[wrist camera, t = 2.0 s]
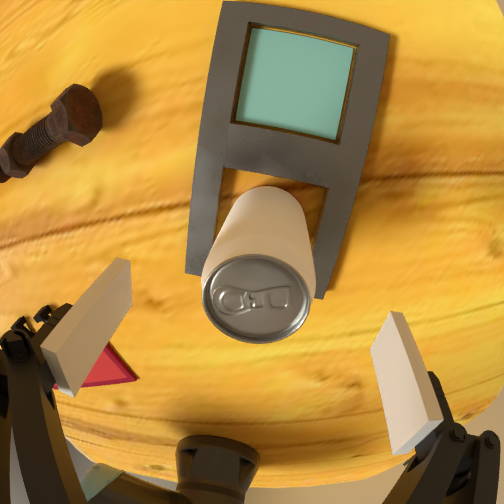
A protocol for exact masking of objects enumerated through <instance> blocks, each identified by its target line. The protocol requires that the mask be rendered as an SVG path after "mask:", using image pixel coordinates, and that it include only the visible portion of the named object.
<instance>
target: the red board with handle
mask: <svg viewBox="0 0 504 504" xmlns="http://www.w3.org/2000/svg"><path fill="white" fill-rule="evenodd" d="M51 311H52V310H51V308H50V307H49V306H48V305H47V306H44V307H42V308H41V309H40V310H39V311H38V313H37V314H36V315H35V316H34V317H33V318H34V320H35V321H36V322H37V323H38V322H41V321H43V322H44V323H46V321H47V320H48V318H49V317H50V316H49V315H48V314H49V313H50V312H51ZM25 322H26V319H25V318H24V317H21V318H19V319H18V320H17V321H16V322H15V323H14V324H13V325H12V327H11V329H22V330H24V331H25V332H26V333H27V334H28V336H29V339H30V340H31V339H32V337H33V336H34V334H33V333H32V332H31V331H29V330H28V329H27V328H26V327H25V326H23V325H24V324H25ZM0 346H1V345H0ZM136 380H137V377H136V376H135V375H134V374H133V373H132V372H131V371H130V370H129V368H128V367H127V366H126V365H125V364H124V363H123V361H122V360H121V359H120V358H119V357H118V355H117V354H116V353H115V352H114V351H113V349H112V348H111V347H110V346H109V344H108V343H107V345H106V346H105V348H104V349H103V351H102V353H101V354H100V356H99V358H98V359H97V361H96V362H95V364H94V366H93V367H92V369H91V371H90V372H89V374H88V376H87V377H86V379H85V381H84V382H83V384H82V386H81V387H92V386H101V385H110V384H119V383H126V382H134V381H136ZM81 387H80V388H81ZM53 388H54V389H59V388H58V386H57V384H55V385H54V387H53Z"/></svg>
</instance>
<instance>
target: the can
mask: <svg viewBox="0 0 504 504" xmlns="http://www.w3.org/2000/svg"><path fill="white" fill-rule="evenodd" d="M201 282H202V303H203V307H204V310H205V313H206V315H207V316H208V318H209V320H210V321H211V322H212V323H213V325H214V326H215V327H216V328H218V329H219V330H220V331H221V332H223V333H224V334H226V335H227V336H229V337H231V338H234V339H236V340H239V341H242V342H247V343H254V344H265V343H272V342H276V341H279V340H282V339H284V338H286V337H288V336H290V335H292V334H293V333H294V332H296V331H297V330H298V329H299V328H300V327H301V326H302V325H303V323H304V322H305V320H306V318H307V316H308V314H309V311H310V306H311V303H312V301H313V299H314V295H315V290H316V277H315V269H314V262H313V257H312V251H311V245H310V240H309V234H308V229H307V224H306V220H305V215H304V212H303V209H302V207H301V205H300V204H299V202H298V201H297V200H296V199H295V198H294V197H293V196H292V195H291V194H290V193H288V192H287V191H285V190H283V189H280V188H277V187H272V186H261V187H256V188H253V189H251V190H248V191H247V192H245V193H244V194H242V195H241V196H240V197H239V198H238V199H237V200H236V202H235V203H234V205H233V206H232V208H231V210H230V212H229V214H228V216H227V218H226V220H225V222H224V224H223V226H222V228H221V230H220V232H219V234H218V236H217V238H216V240H215V242H214V244H213V246H212V248H211V250H210V253H209V255H208V257H207V259H206V262H205V264H204V267H203V272H202V279H201Z"/></svg>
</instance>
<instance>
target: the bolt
mask: <svg viewBox="0 0 504 504" xmlns="http://www.w3.org/2000/svg"><path fill="white" fill-rule="evenodd" d="M50 106H51V109H52V112H51V113H50V114H49V115H47V116H46V117H44V118H43V119H42V120H40V121H39V122H38V123H36V124H35V125H33V126H32V127H31V128H30V129H29V130H27V131H26V132H25V133H24V134H23V133H17V132H15V133H14V134H12V135H11V136H10V137H9V138H8V139H7V141H6V142H5V143H4V144H3V146H2V147H1V149H0V183H4V182H6V181H7V180H8V179H10V178H11V177H15V178H24V177H25V176H27V175H28V174H29V172H30V171H31V170H32V168H33V167H34V165H35V164H36V162H37V159H38V158H39V157H41V156H42V155H44V154H46V153H47V152H49V151H50V150H52V149H53V148H55V147H56V146H58V145H60V144H61V143H63V142H65V141H70V142H72V143H75V144H77V145H79V146H81V147H82V146H84V145H86V144H88V143H90V142H91V141H92V140H93V139H94V138H95V137H96V135H97V134H98V132H99V131H100V129H101V127H102V114H101V110H100V106H99V103H98V101H97V100H96V98H95V96H94V95H93V94H92V92H91V91H90V90H89V89H88V88H86V87H84V86H82V85H78V84H72V85H71V86H69V87H68V88H66V89H65V90H64V91H63V92H62V93H61V94H60V95H59V96H58V98H57V99H56V100H55V101H54V102H53V103H52V104H51V105H50Z"/></svg>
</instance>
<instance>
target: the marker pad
mask: <svg viewBox="0 0 504 504" xmlns="http://www.w3.org/2000/svg"><path fill="white" fill-rule="evenodd" d="M352 54H353V48H350V47H346V46H343V45H339V44H335V43H331V42H327V41H323V40H319V39H315V38H310V37H305V36H300V35H295V34H290V33H284V32H278V31H272V30H265V29H257V28H252V32H251V37H250V42H249V47H248V52H247V57H246V63H245V68H244V73H243V79H242V84H241V90H240V96H239V101H238V107H237V113H236V119H235V120H237V121H243V122H249V123H255V124H261V125H267V126H272V127H278V128H283V129H288V130H293V131H297V132H302V133H307V134H311V135H315V136H320V137H324V138H328V139H332V140H335V139H336V134H337V130H338V125H339V121H340V116H341V111H342V106H343V101H344V96H345V91H346V86H347V81H348V76H349V70H350V65H351V59H352Z"/></svg>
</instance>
